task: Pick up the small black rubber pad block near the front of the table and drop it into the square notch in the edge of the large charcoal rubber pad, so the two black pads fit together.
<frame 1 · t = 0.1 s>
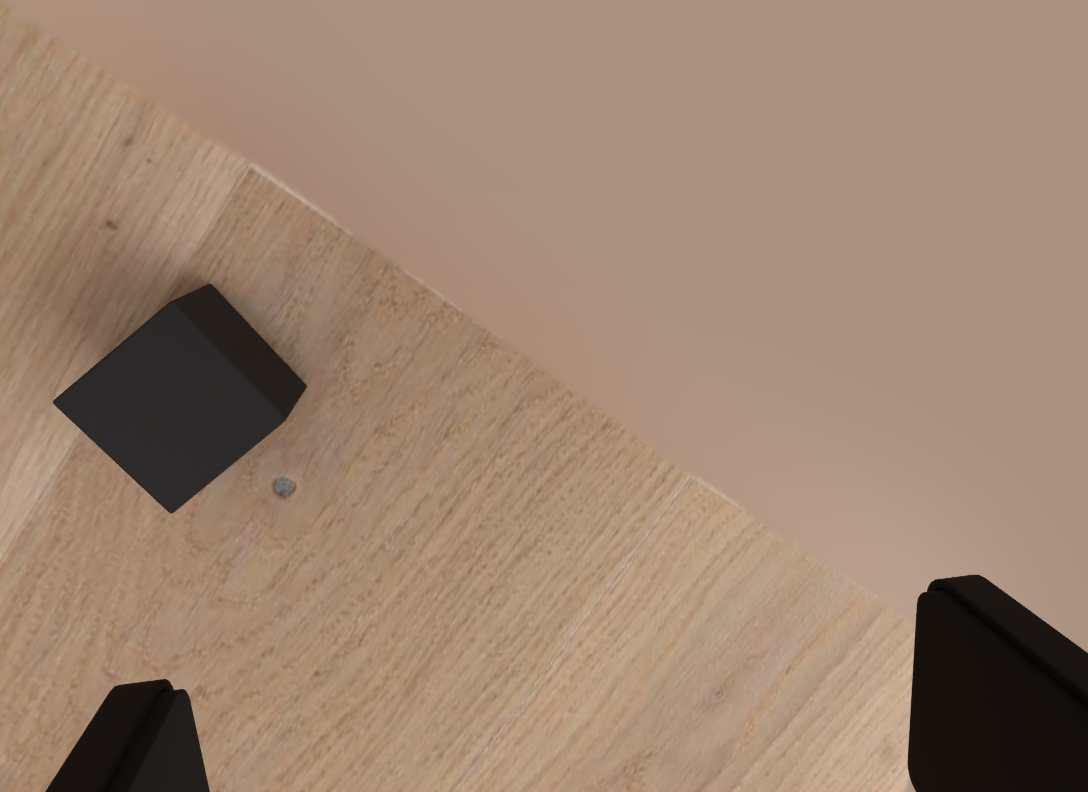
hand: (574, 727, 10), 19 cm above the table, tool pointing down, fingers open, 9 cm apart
pad block: (209, 378, 27), on the table
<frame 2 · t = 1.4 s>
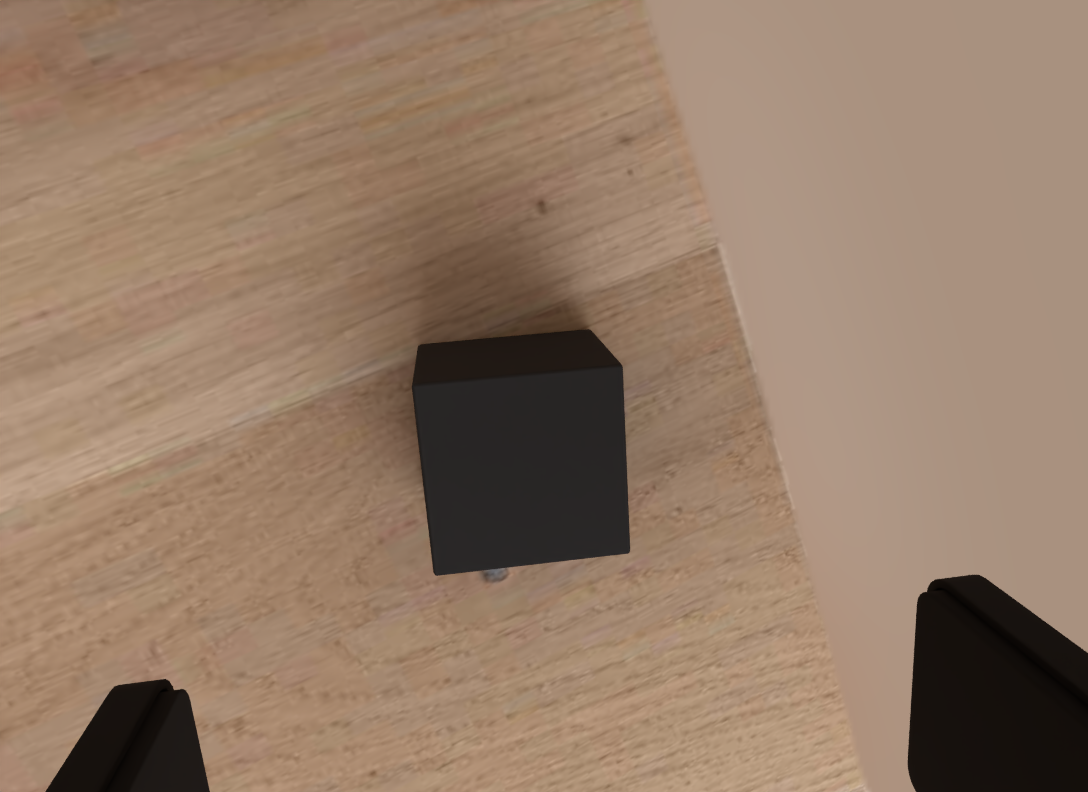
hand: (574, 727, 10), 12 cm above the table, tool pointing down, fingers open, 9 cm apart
pad block: (512, 419, 22), on the table
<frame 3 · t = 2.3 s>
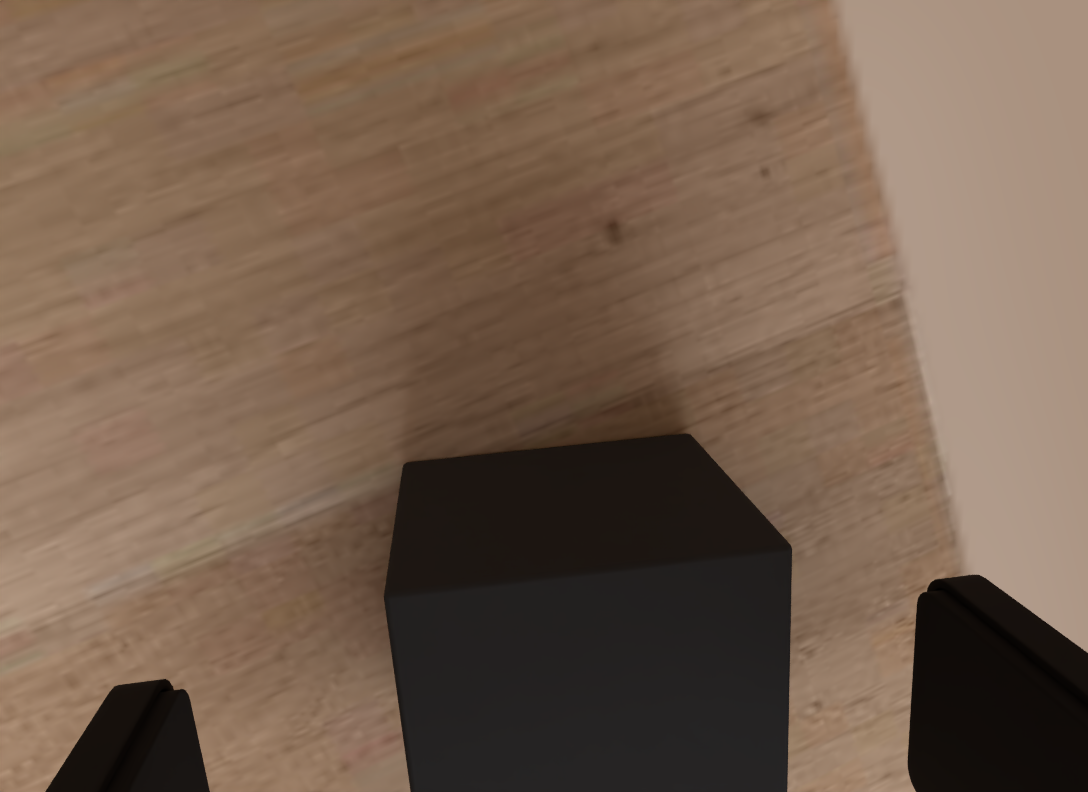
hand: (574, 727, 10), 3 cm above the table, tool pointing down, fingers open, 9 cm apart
pad block: (557, 576, 13), on the table
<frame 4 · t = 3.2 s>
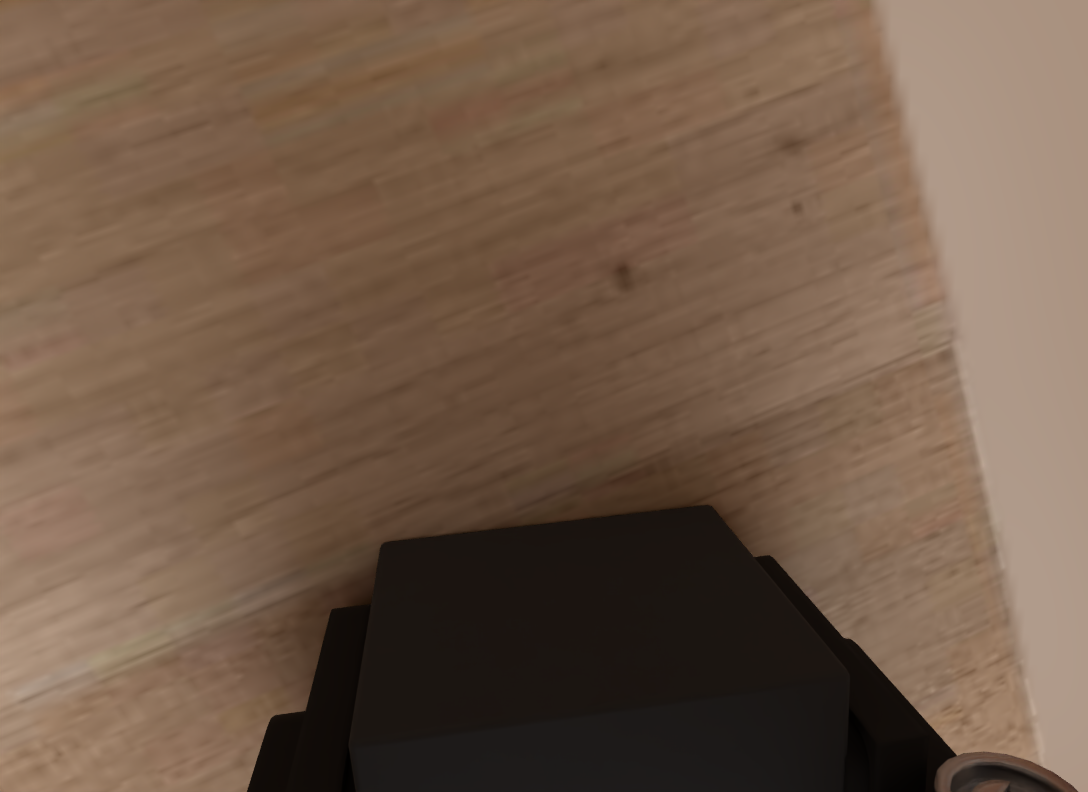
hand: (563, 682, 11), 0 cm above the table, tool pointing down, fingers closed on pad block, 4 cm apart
pad block: (559, 667, 12), on the table, touching gripper
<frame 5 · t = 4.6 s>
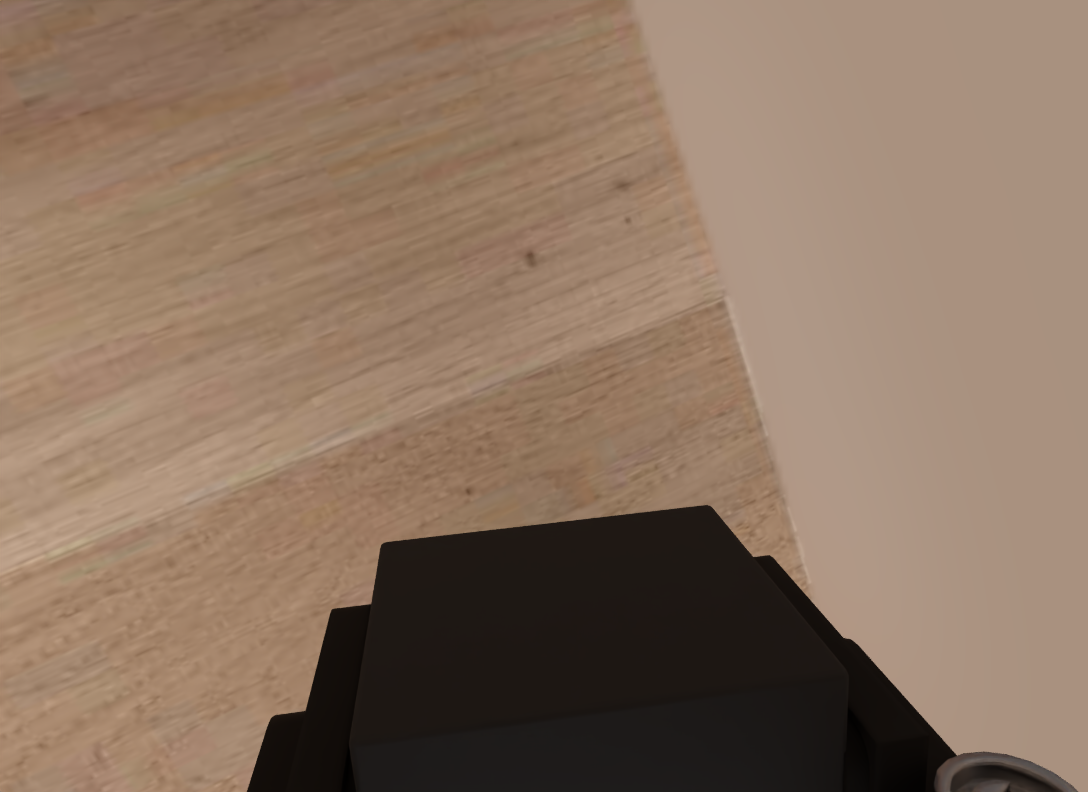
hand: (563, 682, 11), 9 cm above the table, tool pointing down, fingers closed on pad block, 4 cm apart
pad block: (559, 666, 12), point 8 cm above the table, touching gripper
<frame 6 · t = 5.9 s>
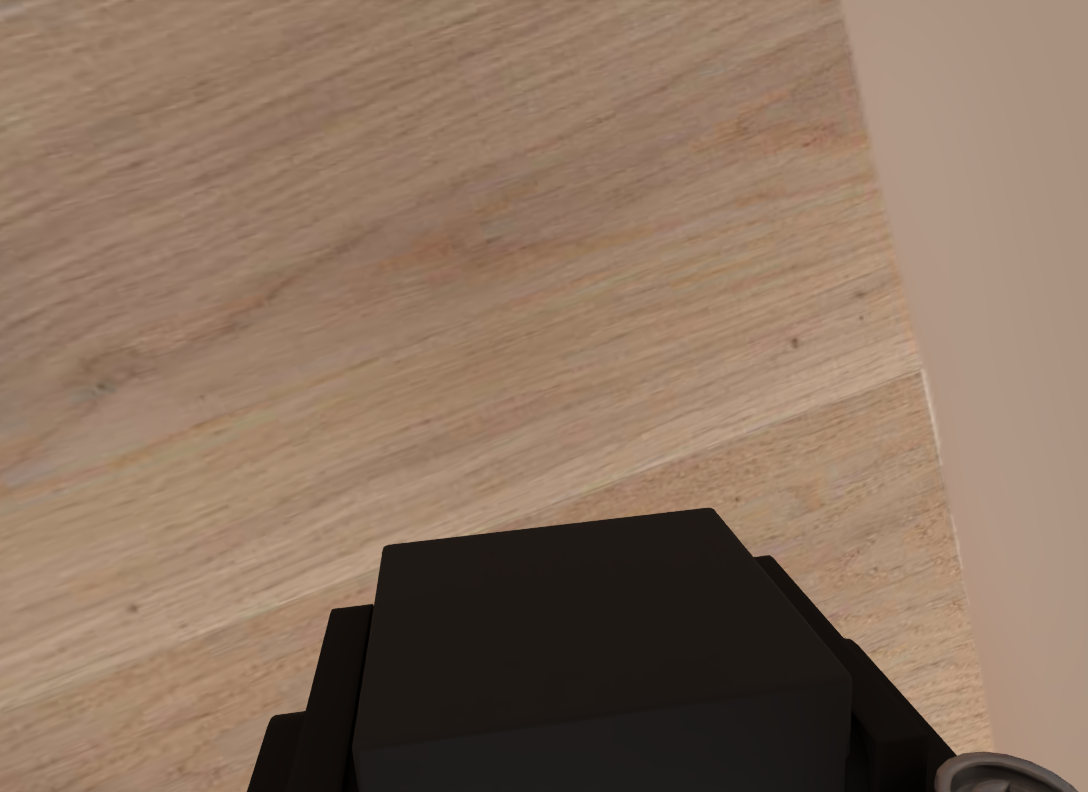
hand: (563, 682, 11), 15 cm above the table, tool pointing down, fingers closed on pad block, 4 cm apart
pad block: (561, 669, 12), point 15 cm above the table, touching gripper
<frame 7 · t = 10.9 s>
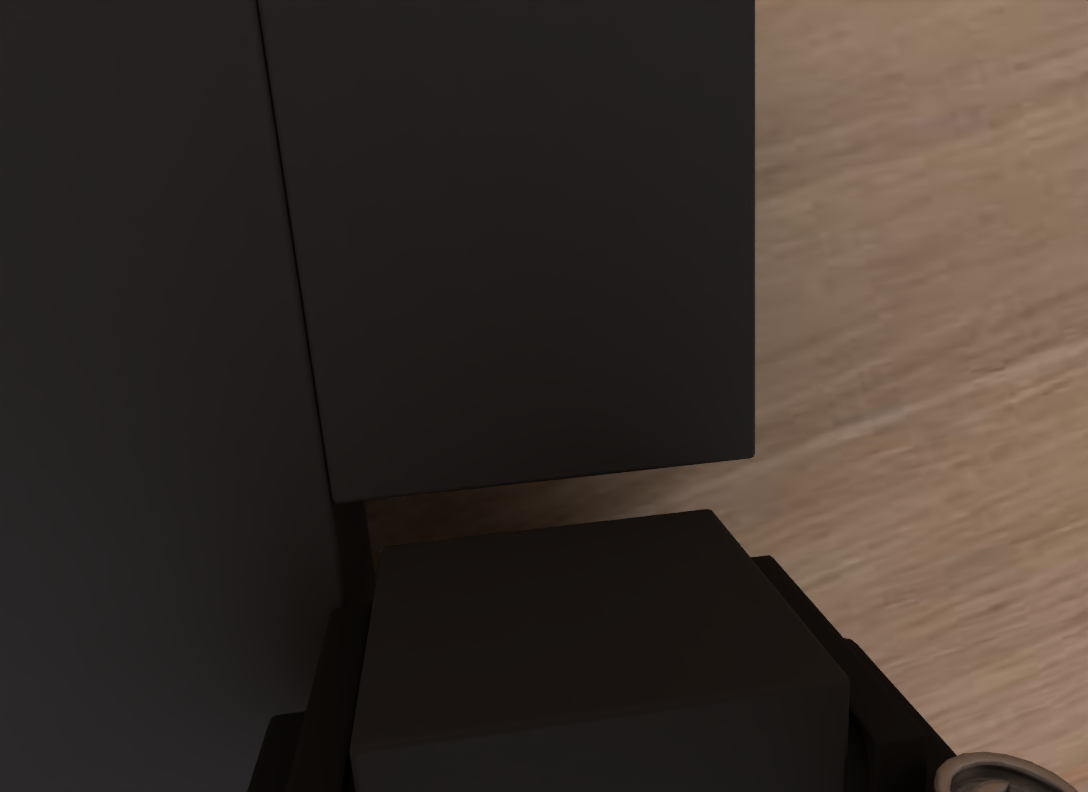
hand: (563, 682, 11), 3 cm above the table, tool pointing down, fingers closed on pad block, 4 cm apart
base pad: (172, 617, 14), on the table
pad block: (559, 670, 12), point 3 cm above the table, touching gripper
when the fingers open (3 cm above the table, at t = 12.3 s): pad block drops 3 cm, on the table.
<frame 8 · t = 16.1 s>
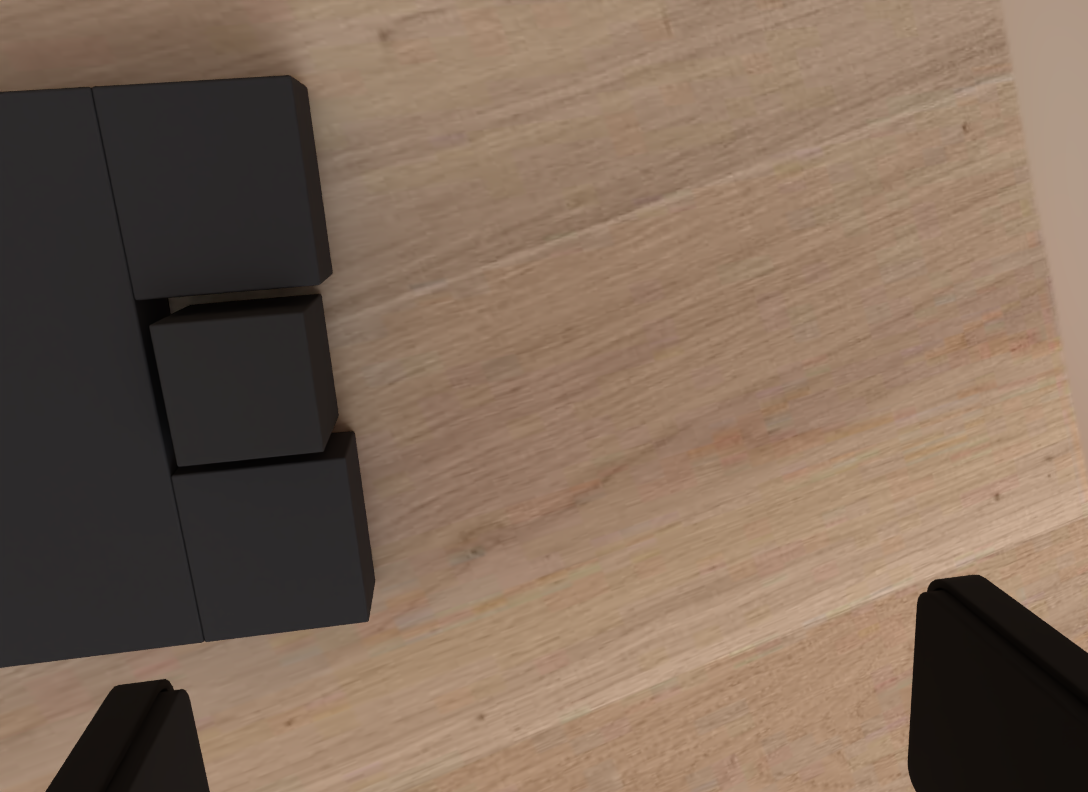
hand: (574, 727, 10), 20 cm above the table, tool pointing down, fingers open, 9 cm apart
base pad: (79, 378, 28), on the table
pad block: (265, 362, 29), on the table
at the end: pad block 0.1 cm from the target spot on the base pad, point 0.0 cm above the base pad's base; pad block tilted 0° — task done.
